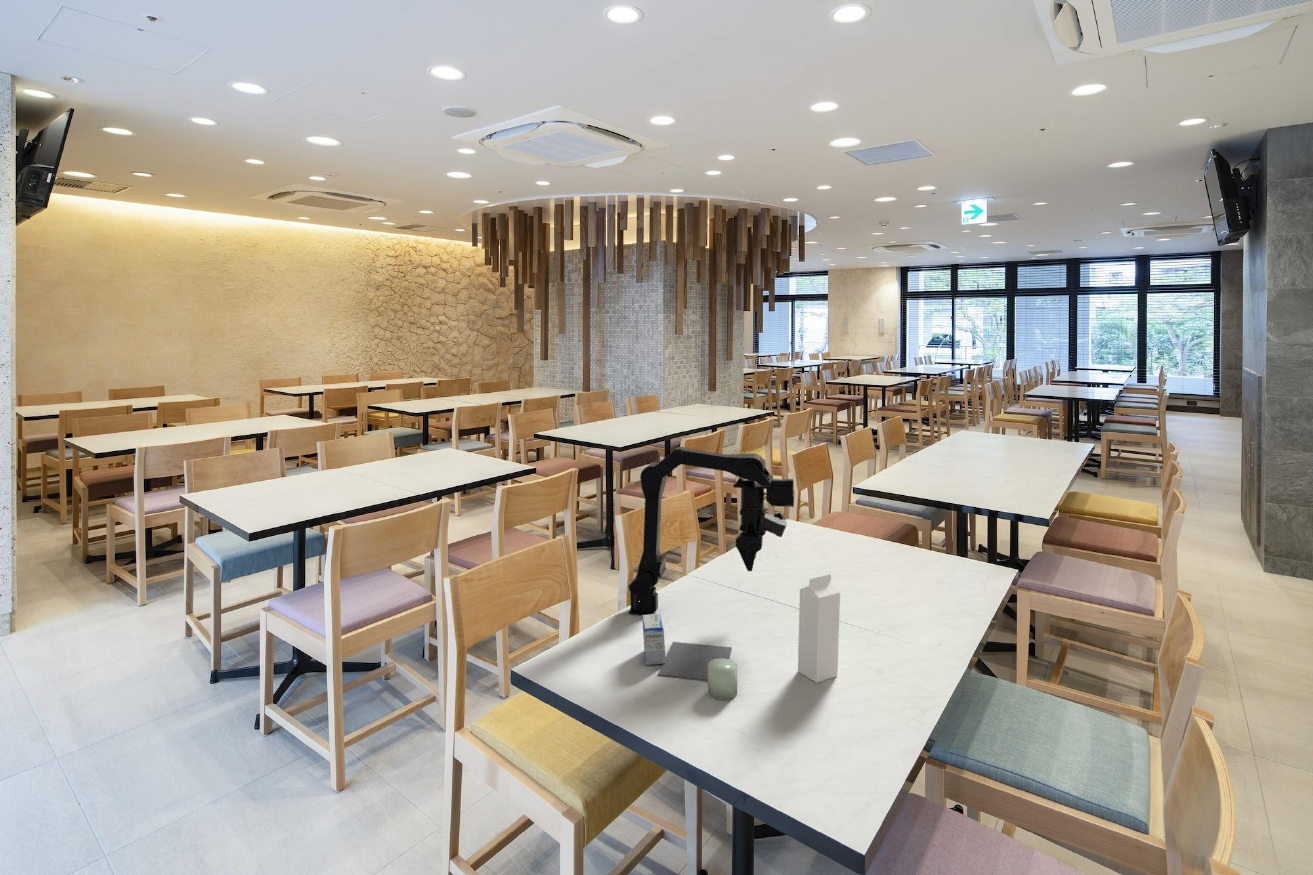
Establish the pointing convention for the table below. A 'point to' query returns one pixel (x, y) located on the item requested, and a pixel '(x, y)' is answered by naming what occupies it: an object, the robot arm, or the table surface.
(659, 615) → the medicine box
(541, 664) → the table surface
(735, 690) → the pale green cylinder
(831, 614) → the milk
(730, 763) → the table surface
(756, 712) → the table surface
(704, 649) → the mat
